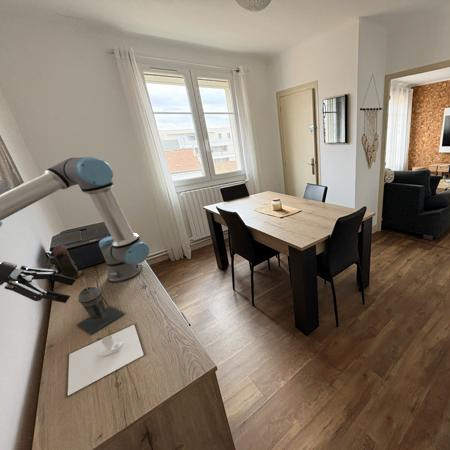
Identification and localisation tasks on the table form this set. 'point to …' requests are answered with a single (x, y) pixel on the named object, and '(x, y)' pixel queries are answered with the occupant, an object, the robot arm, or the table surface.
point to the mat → (93, 327)
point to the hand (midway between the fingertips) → (71, 290)
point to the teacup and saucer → (102, 358)
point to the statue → (66, 262)
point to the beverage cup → (93, 303)
